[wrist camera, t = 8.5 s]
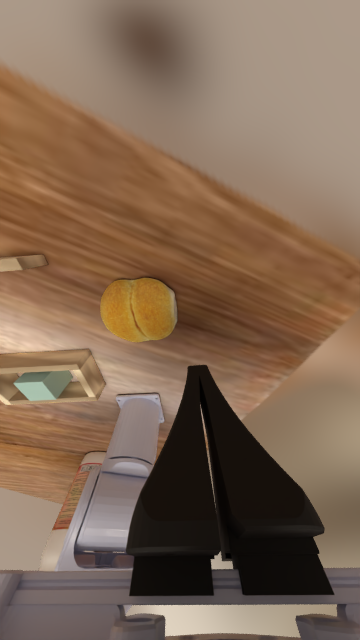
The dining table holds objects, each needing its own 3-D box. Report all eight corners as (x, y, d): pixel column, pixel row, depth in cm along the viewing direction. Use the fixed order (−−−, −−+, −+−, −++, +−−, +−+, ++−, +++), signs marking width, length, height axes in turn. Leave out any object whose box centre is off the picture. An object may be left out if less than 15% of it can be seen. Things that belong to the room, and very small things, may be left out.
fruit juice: (96, 447, 38) (-52, 821, 14) (125, 457, 41) (49, 772, 17) (78, 457, 41) (-69, 777, 17) (107, 466, 45) (20, 743, 20)
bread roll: (97, 280, 17) (76, 291, 14) (173, 273, 17) (171, 282, 13) (118, 337, 21) (106, 357, 18) (179, 332, 21) (180, 351, 17)
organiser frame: (105, 384, 26) (97, 400, 23) (23, 388, 26) (6, 404, 24) (43, 254, 15) (15, 258, 13) (-92, 264, 16) (-145, 269, 13)
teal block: (73, 377, 25) (56, 399, 22) (50, 378, 25) (29, 400, 22) (62, 359, 23) (41, 381, 20) (37, 361, 23) (13, 383, 20)
